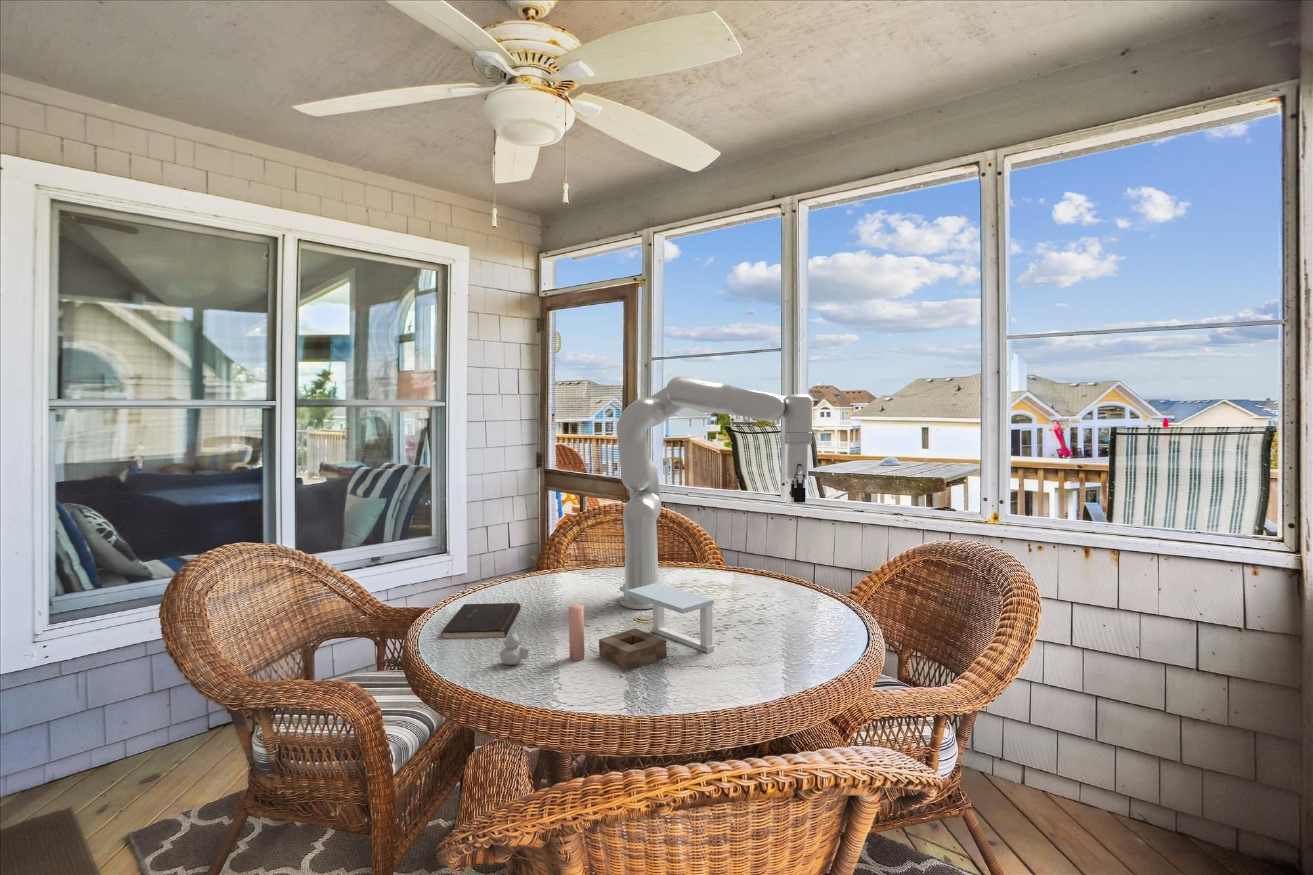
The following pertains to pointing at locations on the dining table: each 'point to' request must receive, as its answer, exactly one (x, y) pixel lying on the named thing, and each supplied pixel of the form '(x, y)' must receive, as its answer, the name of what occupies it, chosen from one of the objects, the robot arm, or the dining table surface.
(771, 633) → the dining table surface
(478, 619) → the hardcover book
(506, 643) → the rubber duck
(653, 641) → the socket block
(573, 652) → the peg
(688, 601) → the small white step stool
